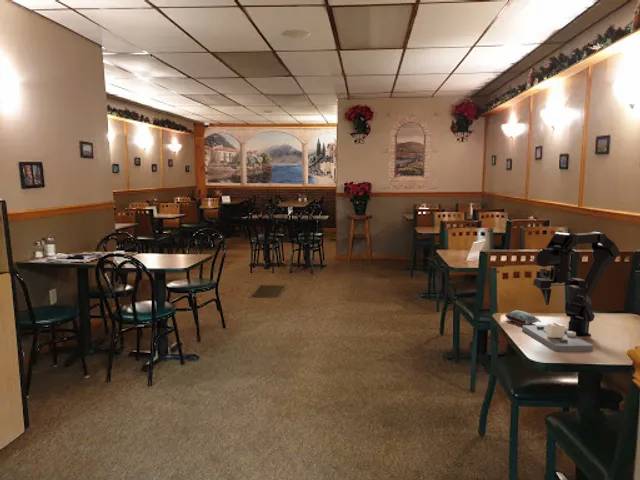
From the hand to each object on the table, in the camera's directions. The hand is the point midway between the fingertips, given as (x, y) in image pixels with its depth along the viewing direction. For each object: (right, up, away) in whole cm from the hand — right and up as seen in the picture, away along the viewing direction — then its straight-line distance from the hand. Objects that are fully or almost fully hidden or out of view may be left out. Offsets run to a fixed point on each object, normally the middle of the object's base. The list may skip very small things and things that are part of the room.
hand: (558, 304), depth 185 cm
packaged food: (-5, -11, +21) cm, 24 cm away
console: (-2, -13, -1) cm, 13 cm away
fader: (-4, -11, -5) cm, 13 cm away
